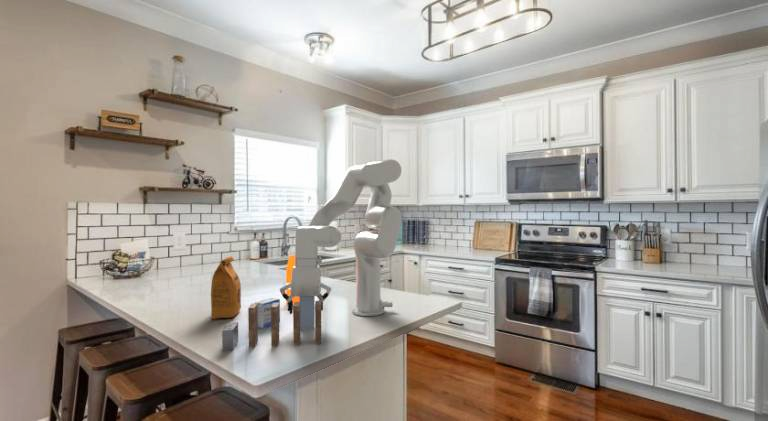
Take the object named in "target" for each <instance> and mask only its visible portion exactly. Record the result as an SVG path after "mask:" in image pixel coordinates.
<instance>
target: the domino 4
mask: <svg viewBox="0 0 768 421" xmlns="http://www.w3.org/2000/svg"><path fill="white" fill-rule="evenodd" d="M315 298H316V296H308V297H299V302H300V330H315V301H316V300H315Z"/></svg>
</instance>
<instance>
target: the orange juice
mask: <svg viewBox="0 0 768 421" xmlns="http://www.w3.org/2000/svg"><path fill="white" fill-rule="evenodd" d="M293 266H295V255H294V254H293V255H292V254H290V255H288V260H287V265H286V269H285V272H286V273H285V280H286V281H285V282H286V283H285V286H286V285H288V284H290V283H291V276H292V269H293ZM290 289H291V288H289V289H287V290H285V292H286V294H287V295H288V296H290V295H291V291H290ZM292 301H293V304H294V302H299V297H294V298H293V299H292ZM285 302H286V304H288V302H287V300H286V299H285Z"/></svg>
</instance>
